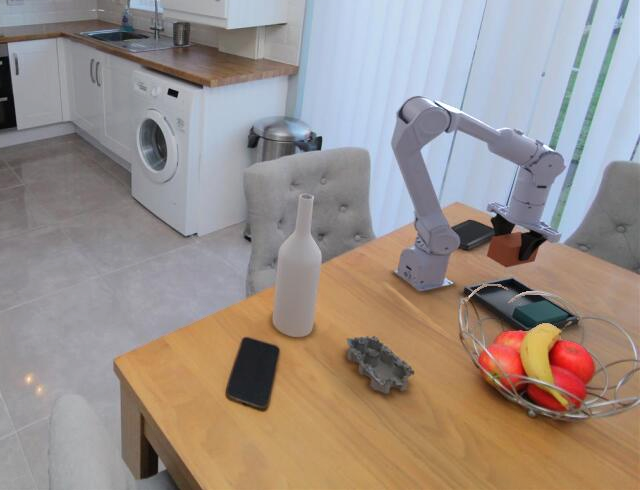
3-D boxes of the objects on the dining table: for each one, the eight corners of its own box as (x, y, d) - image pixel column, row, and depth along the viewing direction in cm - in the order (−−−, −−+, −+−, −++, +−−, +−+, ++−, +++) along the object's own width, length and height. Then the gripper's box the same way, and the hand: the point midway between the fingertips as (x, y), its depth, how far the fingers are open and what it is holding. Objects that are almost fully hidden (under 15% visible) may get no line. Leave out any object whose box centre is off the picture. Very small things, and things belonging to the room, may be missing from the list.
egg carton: (414, 391, 84) (418, 373, 83) (373, 396, 83) (377, 379, 82) (377, 346, 94) (380, 329, 93) (341, 350, 93) (343, 334, 92)
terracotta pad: (505, 267, 105) (511, 248, 103) (486, 256, 109) (491, 237, 107) (534, 261, 106) (540, 242, 105) (514, 250, 111) (520, 231, 109)
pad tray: (525, 338, 95) (528, 330, 94) (462, 293, 108) (464, 286, 107) (577, 325, 97) (580, 317, 97) (510, 283, 110) (512, 276, 110)
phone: (501, 231, 128) (467, 246, 122) (500, 234, 129) (466, 250, 123) (470, 218, 135) (437, 232, 129) (469, 222, 135) (436, 236, 129)
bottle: (288, 305, 106) (301, 183, 95) (320, 326, 100) (338, 197, 89) (264, 321, 102) (274, 194, 91) (296, 343, 95) (312, 211, 85)
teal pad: (533, 331, 96) (536, 321, 95) (511, 316, 100) (514, 307, 99) (564, 324, 97) (568, 314, 96) (542, 309, 101) (545, 300, 100)
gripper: (580, 212, 96) (560, 268, 101) (510, 182, 110) (495, 234, 114) (553, 217, 95) (534, 274, 100) (485, 187, 108) (471, 238, 113)
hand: (511, 253), depth 107 cm, fingers closed on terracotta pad, 4 cm apart
